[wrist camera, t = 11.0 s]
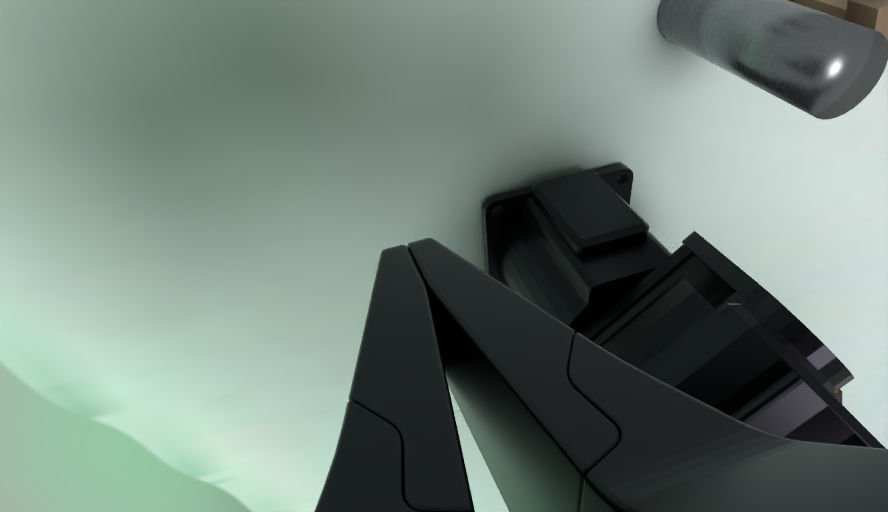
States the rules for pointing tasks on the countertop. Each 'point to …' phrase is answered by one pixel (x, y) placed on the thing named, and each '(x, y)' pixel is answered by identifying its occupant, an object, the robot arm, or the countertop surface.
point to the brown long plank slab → (854, 11)
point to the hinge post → (782, 49)
